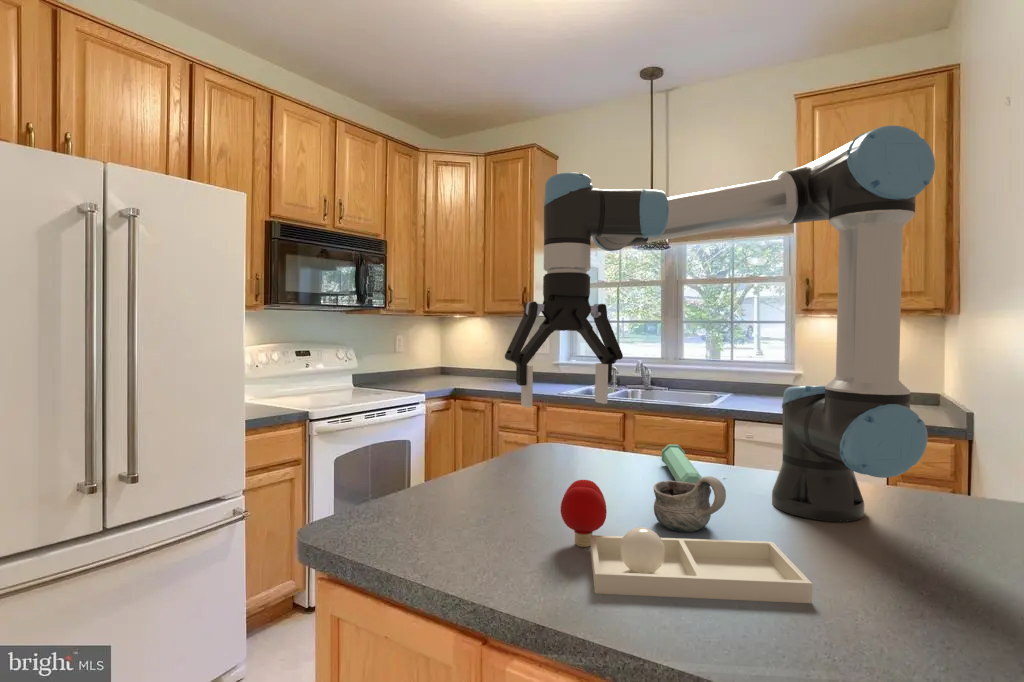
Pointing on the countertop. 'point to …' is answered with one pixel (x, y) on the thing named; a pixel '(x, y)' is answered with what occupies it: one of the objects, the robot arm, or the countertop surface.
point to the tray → (703, 571)
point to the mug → (687, 503)
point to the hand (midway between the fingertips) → (564, 404)
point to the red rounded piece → (583, 510)
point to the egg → (642, 550)
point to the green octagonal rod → (679, 464)
